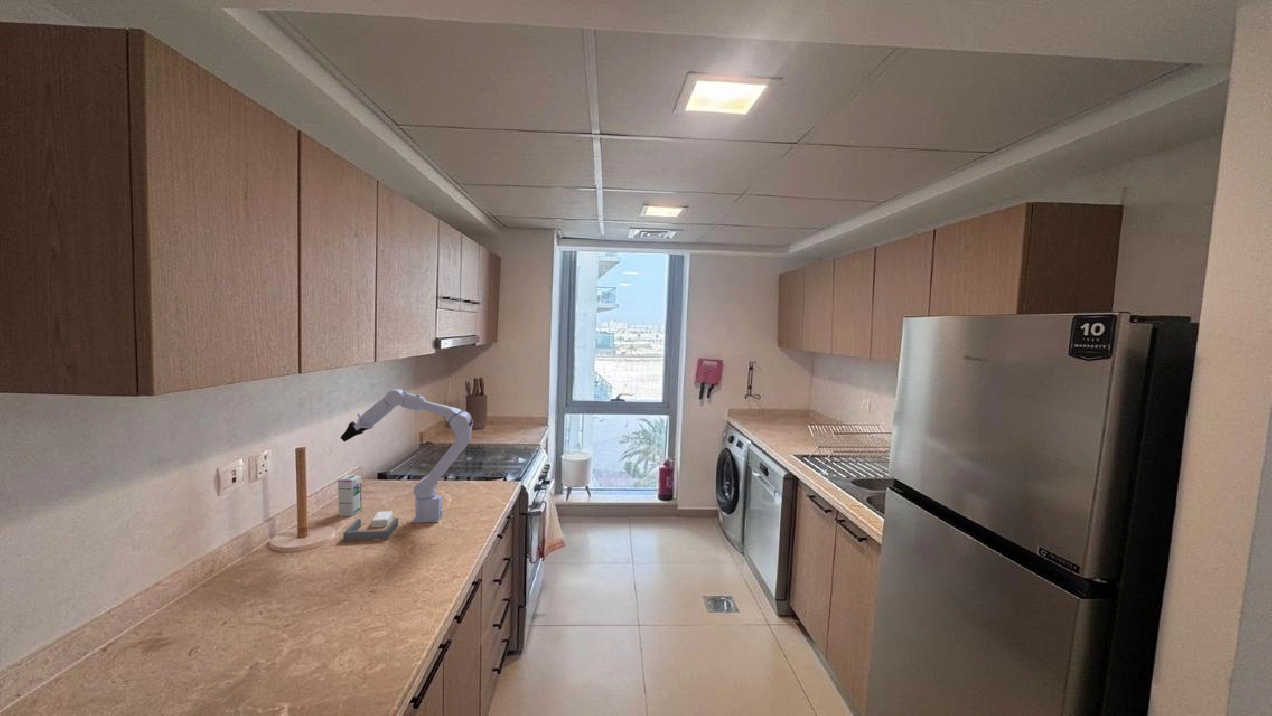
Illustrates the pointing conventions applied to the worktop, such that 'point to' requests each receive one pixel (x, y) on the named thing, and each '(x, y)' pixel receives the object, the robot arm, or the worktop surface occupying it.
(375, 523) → the soap
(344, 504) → the syrup box
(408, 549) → the worktop surface
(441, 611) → the worktop surface
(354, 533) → the box
